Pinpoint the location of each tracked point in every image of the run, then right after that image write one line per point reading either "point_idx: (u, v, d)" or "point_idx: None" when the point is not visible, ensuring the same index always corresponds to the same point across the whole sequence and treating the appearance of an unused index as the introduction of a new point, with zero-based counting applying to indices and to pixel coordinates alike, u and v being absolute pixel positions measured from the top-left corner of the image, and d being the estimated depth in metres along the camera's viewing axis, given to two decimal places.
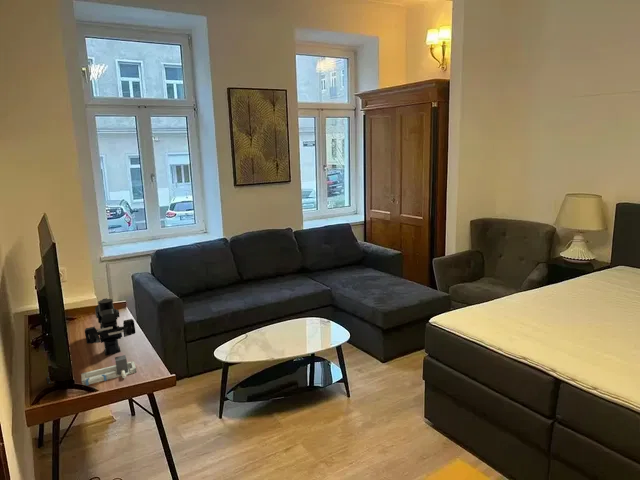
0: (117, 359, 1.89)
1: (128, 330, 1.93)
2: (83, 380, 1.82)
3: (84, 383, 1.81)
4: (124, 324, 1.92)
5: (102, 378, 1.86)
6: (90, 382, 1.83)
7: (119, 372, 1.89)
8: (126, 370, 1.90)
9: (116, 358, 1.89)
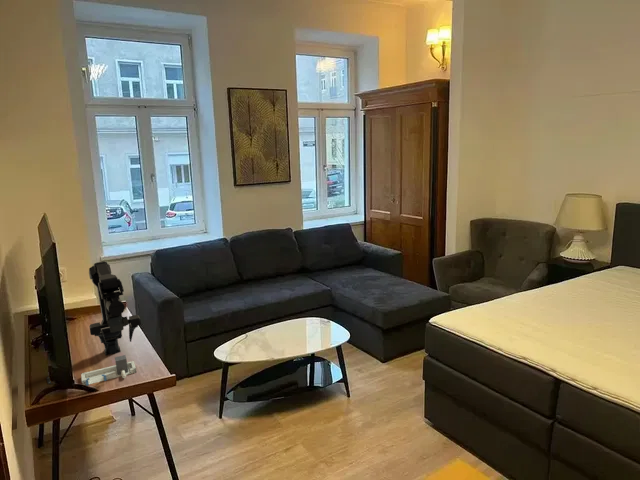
0: (117, 359, 1.89)
1: None
2: (83, 380, 1.82)
3: (84, 383, 1.81)
4: (131, 328, 1.87)
5: (102, 378, 1.86)
6: (90, 382, 1.83)
7: (119, 372, 1.89)
8: (126, 370, 1.90)
9: (116, 358, 1.89)
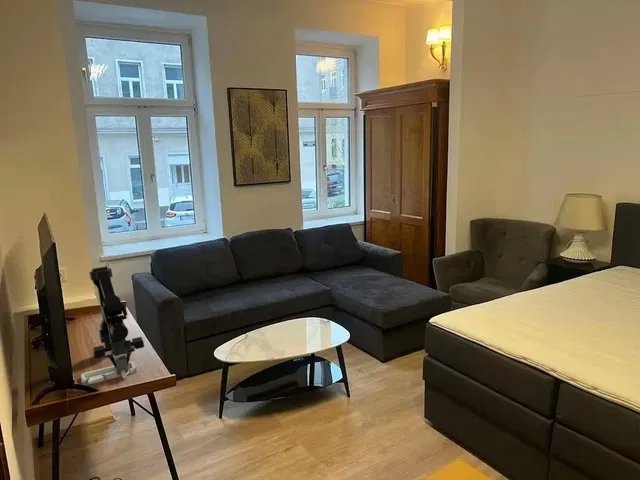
0: (117, 359, 1.89)
1: None
2: (83, 380, 1.82)
3: (84, 383, 1.81)
4: (128, 353, 1.88)
5: (102, 378, 1.86)
6: (90, 382, 1.83)
7: (119, 372, 1.89)
8: (126, 370, 1.90)
9: (116, 358, 1.89)
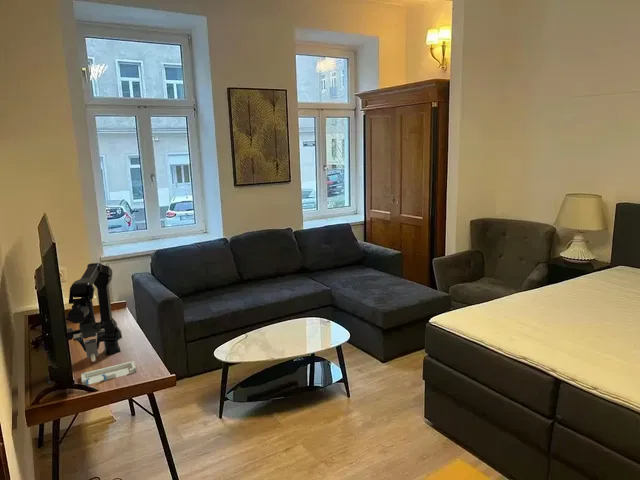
0: (87, 342, 1.82)
1: None
2: (83, 380, 1.82)
3: (84, 383, 1.81)
4: (98, 336, 1.82)
5: (102, 378, 1.86)
6: (90, 382, 1.83)
7: (89, 356, 1.82)
8: (96, 354, 1.83)
9: (86, 341, 1.83)
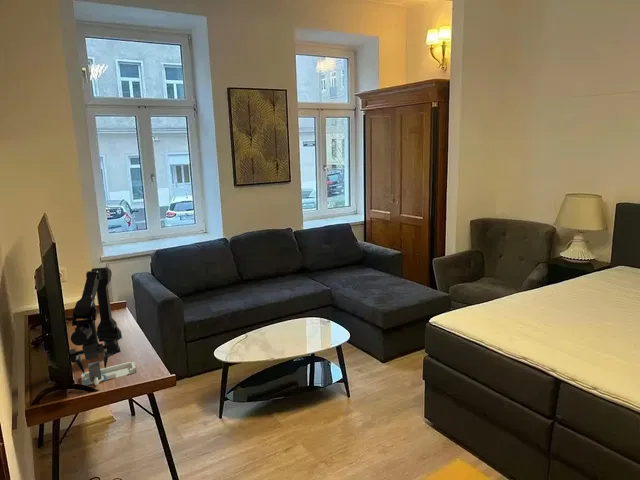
0: (90, 365, 1.84)
1: None
2: (83, 380, 1.82)
3: (84, 383, 1.81)
4: (105, 355, 1.84)
5: (102, 378, 1.86)
6: (90, 382, 1.83)
7: (92, 379, 1.84)
8: (99, 377, 1.85)
9: (89, 364, 1.85)
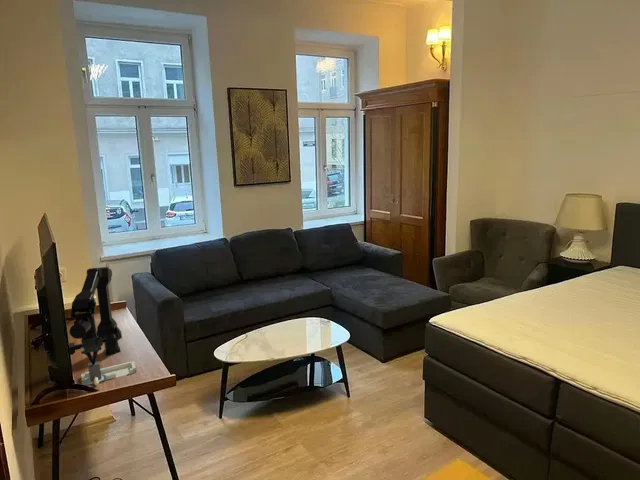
0: (90, 365, 1.84)
1: None
2: (83, 380, 1.82)
3: (84, 383, 1.81)
4: (94, 351, 1.82)
5: (102, 378, 1.86)
6: (90, 382, 1.83)
7: (92, 379, 1.84)
8: (99, 377, 1.85)
9: (89, 364, 1.85)
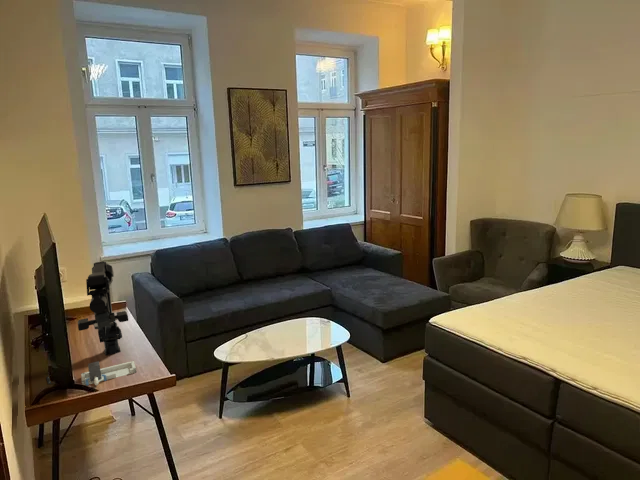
0: (90, 365, 1.84)
1: None
2: (83, 380, 1.82)
3: (84, 383, 1.81)
4: (107, 327, 1.90)
5: (102, 378, 1.86)
6: (90, 382, 1.83)
7: (92, 379, 1.84)
8: (99, 377, 1.85)
9: (89, 364, 1.85)
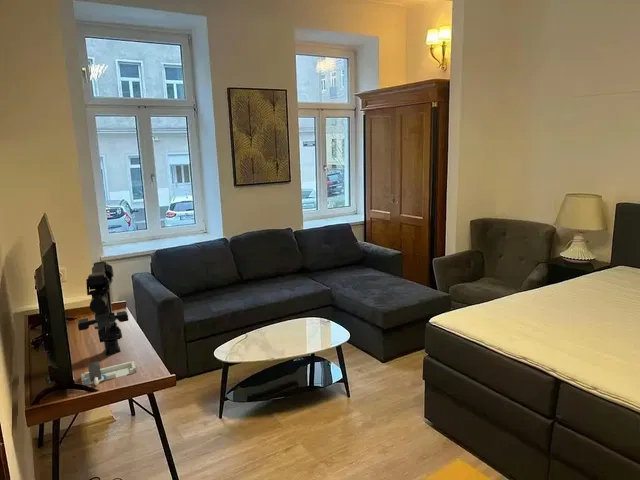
0: (90, 365, 1.84)
1: None
2: (83, 380, 1.82)
3: (84, 383, 1.81)
4: (107, 327, 1.90)
5: (102, 378, 1.86)
6: (90, 382, 1.83)
7: (92, 379, 1.84)
8: (99, 377, 1.85)
9: (89, 364, 1.85)
